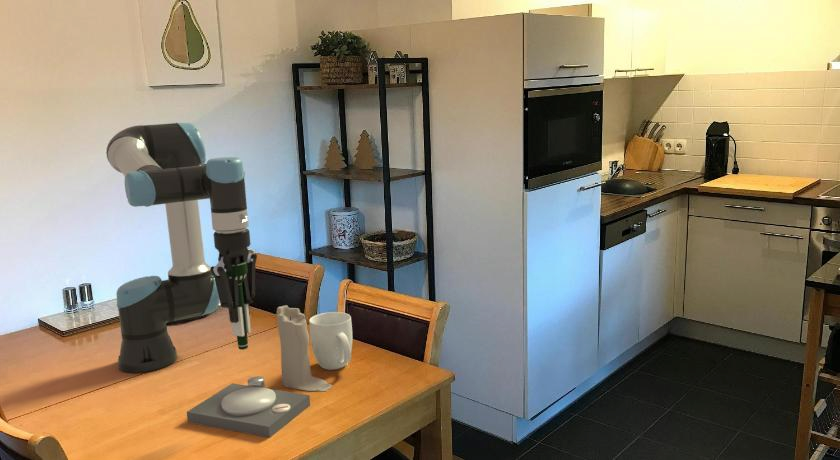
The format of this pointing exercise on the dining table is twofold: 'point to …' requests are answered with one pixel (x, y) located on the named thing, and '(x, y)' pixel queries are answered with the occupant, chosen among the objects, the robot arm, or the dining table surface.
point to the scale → (249, 409)
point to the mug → (331, 339)
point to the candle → (296, 351)
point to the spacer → (256, 381)
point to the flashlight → (240, 298)
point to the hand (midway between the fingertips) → (241, 333)
